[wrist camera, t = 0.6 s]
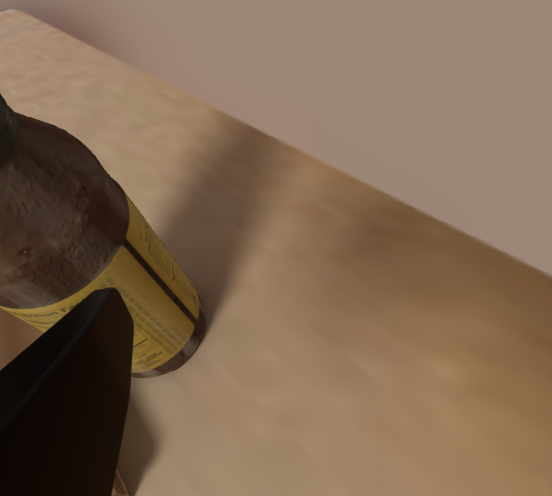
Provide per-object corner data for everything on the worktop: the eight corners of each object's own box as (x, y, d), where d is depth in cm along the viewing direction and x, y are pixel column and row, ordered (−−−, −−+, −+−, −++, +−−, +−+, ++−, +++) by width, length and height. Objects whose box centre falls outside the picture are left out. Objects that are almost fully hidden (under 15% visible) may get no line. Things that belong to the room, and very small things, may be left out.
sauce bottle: (131, 273, 28) (-198, -93, 11) (223, 290, 27) (3, -106, 10) (85, 374, 25) (-457, 77, 8) (186, 399, 24) (-225, 98, 7)
